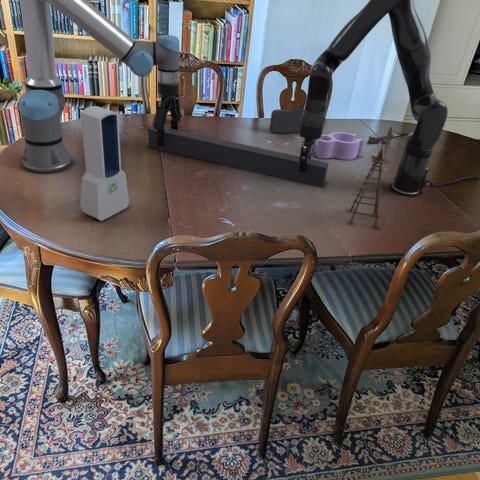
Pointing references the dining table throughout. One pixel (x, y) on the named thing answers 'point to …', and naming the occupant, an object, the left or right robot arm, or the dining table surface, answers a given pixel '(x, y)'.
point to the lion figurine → (169, 118)
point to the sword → (391, 136)
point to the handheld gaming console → (286, 120)
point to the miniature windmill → (377, 160)
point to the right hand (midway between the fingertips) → (304, 168)
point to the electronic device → (102, 165)
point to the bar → (240, 156)
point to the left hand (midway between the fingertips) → (167, 141)
